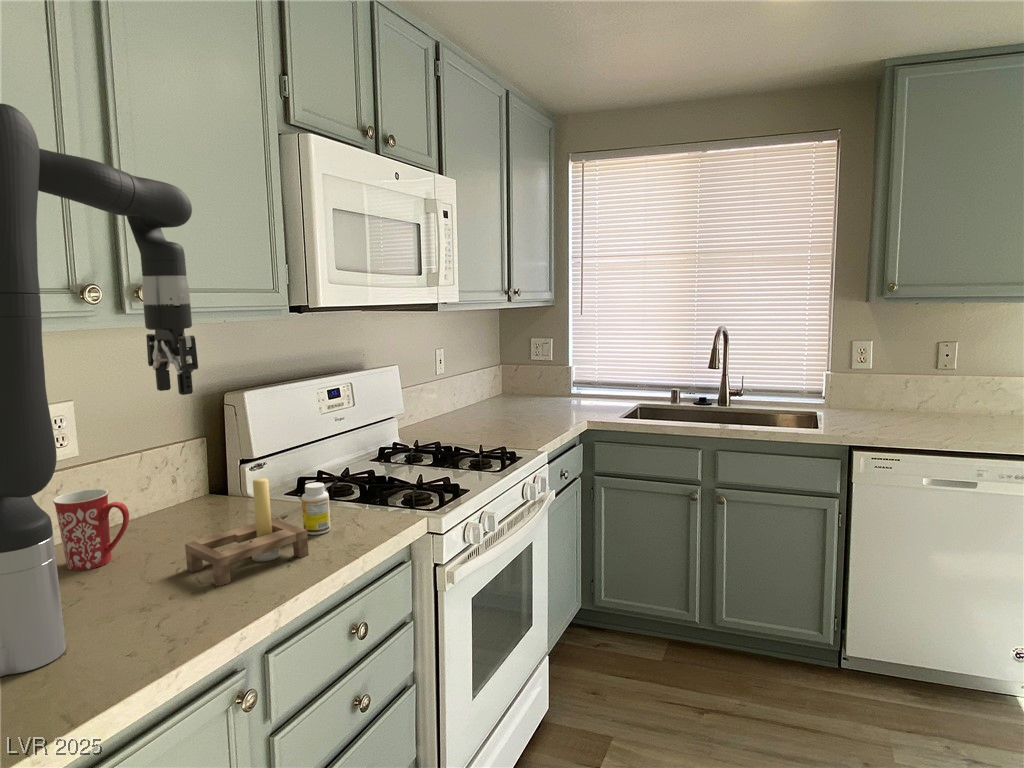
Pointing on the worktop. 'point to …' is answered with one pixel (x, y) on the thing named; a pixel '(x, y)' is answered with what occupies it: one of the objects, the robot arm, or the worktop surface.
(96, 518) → the mug
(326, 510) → the supplement bottle
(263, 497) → the peg
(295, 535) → the keyhole board
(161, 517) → the worktop surface
